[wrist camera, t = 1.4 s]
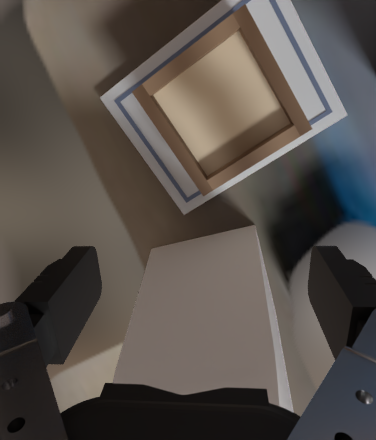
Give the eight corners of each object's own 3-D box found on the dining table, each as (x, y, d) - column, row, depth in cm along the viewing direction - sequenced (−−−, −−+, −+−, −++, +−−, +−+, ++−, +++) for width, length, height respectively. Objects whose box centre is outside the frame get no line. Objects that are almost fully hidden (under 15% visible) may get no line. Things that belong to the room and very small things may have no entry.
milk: (180, 327, 42) (130, 651, 18) (151, 248, 38) (37, 528, 14) (275, 310, 40) (363, 652, 16) (254, 224, 36) (331, 506, 12)
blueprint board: (268, -35, 27) (271, -40, 26) (342, 113, 31) (347, 115, 30) (103, 97, 32) (99, 97, 31) (185, 211, 36) (183, 215, 35)
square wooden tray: (240, 18, 28) (245, 3, 23) (296, 121, 30) (312, 129, 25) (145, 90, 30) (131, 92, 25) (205, 179, 33) (203, 196, 28)
